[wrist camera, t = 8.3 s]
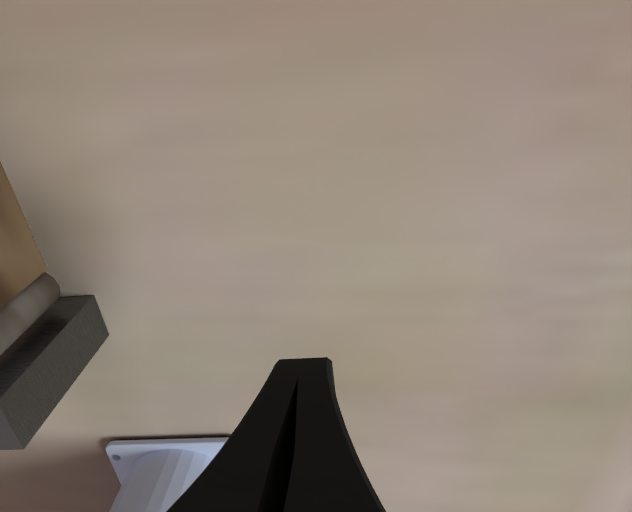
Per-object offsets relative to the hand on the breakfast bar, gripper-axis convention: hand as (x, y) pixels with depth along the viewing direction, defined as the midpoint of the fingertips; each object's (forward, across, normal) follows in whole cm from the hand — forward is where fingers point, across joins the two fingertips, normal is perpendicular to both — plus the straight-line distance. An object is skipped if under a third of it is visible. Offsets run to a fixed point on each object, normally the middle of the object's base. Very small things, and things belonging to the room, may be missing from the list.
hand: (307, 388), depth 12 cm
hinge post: (+9, +13, +4) cm, 16 cm away
